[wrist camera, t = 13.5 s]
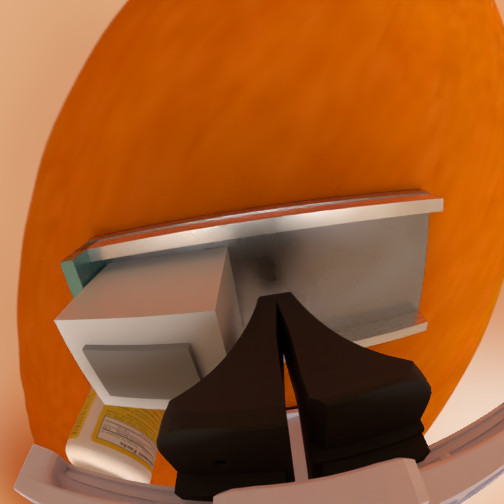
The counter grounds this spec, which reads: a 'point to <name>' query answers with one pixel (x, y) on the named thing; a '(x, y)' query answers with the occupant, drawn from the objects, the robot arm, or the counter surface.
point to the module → (153, 326)
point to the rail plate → (301, 257)
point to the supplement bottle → (115, 439)
